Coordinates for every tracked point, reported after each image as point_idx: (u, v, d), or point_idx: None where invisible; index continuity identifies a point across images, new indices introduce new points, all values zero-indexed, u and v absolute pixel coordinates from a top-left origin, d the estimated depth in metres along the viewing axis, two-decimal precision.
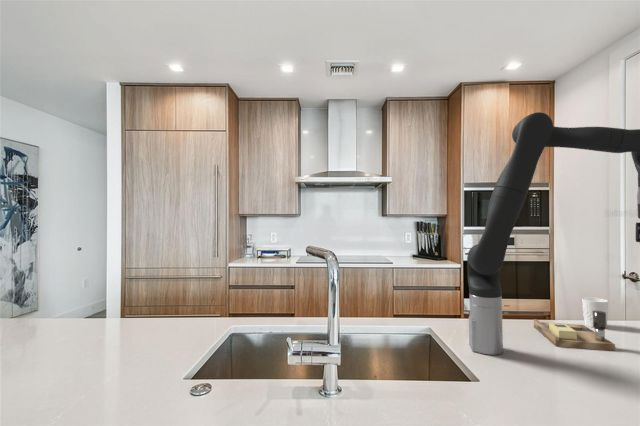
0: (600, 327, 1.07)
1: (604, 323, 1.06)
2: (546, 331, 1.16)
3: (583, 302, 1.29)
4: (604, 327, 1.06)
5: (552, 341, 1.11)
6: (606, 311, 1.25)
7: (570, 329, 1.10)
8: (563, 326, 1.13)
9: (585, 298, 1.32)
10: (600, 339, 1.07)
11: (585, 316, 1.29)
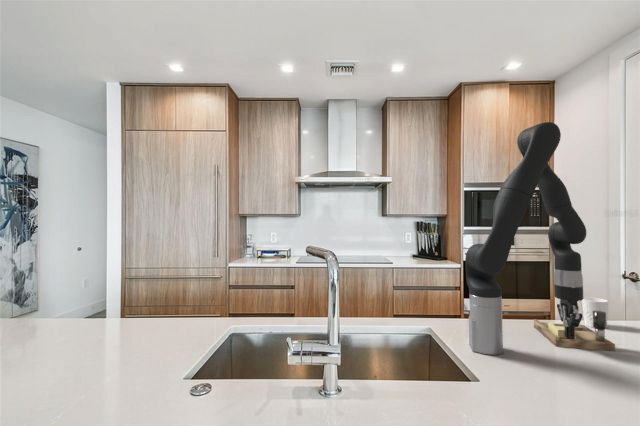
0: (600, 327, 1.07)
1: (604, 323, 1.06)
2: (546, 331, 1.16)
3: (583, 302, 1.29)
4: (604, 327, 1.06)
5: (552, 341, 1.11)
6: (606, 311, 1.25)
7: None
8: (562, 325, 1.14)
9: (585, 298, 1.32)
10: (600, 339, 1.07)
11: (585, 316, 1.29)
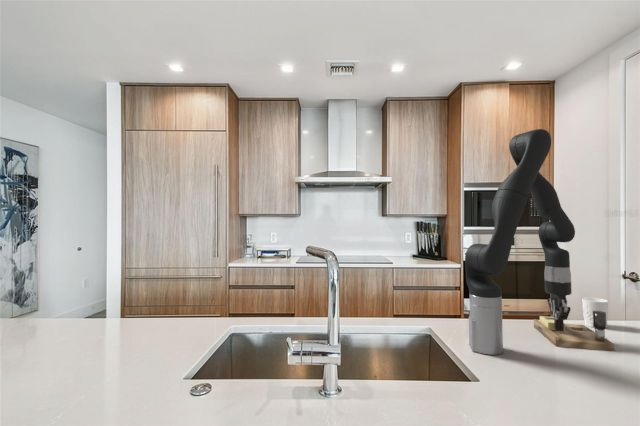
0: (600, 327, 1.07)
1: (604, 323, 1.06)
2: (546, 331, 1.16)
3: (583, 302, 1.29)
4: (604, 327, 1.06)
5: (552, 341, 1.11)
6: (606, 311, 1.25)
7: None
8: (552, 319, 1.22)
9: (585, 298, 1.32)
10: (600, 339, 1.07)
11: (585, 316, 1.29)
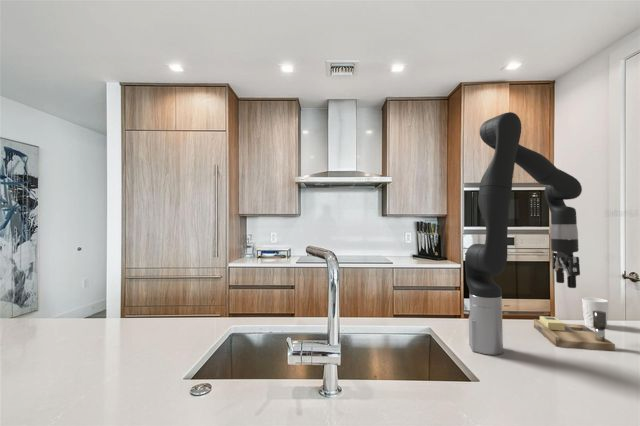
0: (600, 327, 1.06)
1: (604, 323, 1.06)
2: (546, 331, 1.16)
3: (583, 302, 1.29)
4: (604, 327, 1.06)
5: (552, 341, 1.11)
6: (606, 311, 1.25)
7: (559, 321, 1.19)
8: (552, 319, 1.22)
9: (585, 298, 1.32)
10: (600, 339, 1.07)
11: (585, 316, 1.29)
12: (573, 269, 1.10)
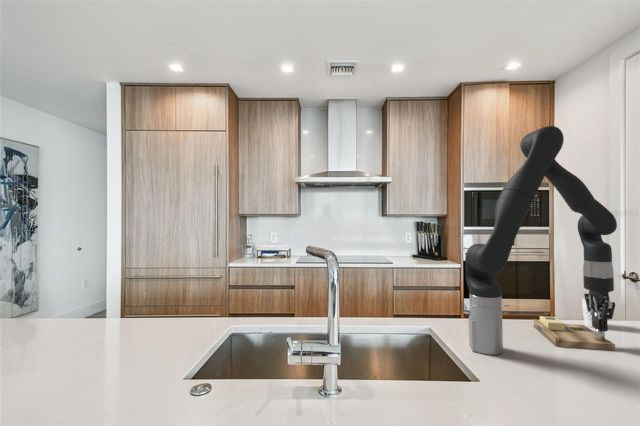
0: None
1: None
2: (546, 331, 1.16)
3: (583, 302, 1.29)
4: None
5: (552, 341, 1.11)
6: None
7: (559, 321, 1.19)
8: (552, 319, 1.22)
9: None
10: (600, 339, 1.07)
11: (585, 316, 1.29)
12: None
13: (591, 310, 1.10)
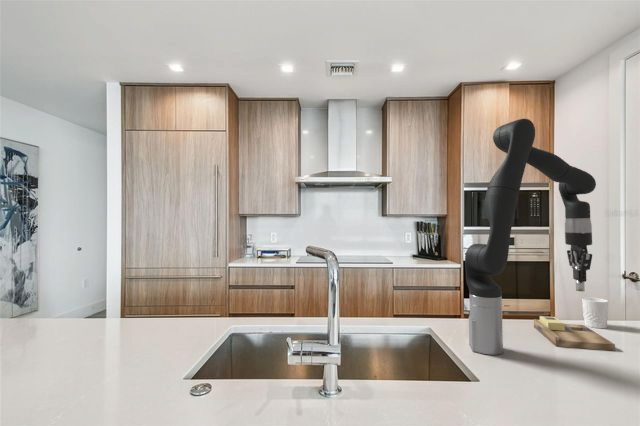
0: None
1: None
2: (546, 331, 1.16)
3: (583, 302, 1.29)
4: None
5: (552, 341, 1.11)
6: (606, 311, 1.25)
7: (559, 321, 1.19)
8: (552, 319, 1.22)
9: (585, 298, 1.32)
10: (580, 289, 1.17)
11: (585, 316, 1.29)
12: (584, 264, 1.16)
13: (572, 264, 1.21)
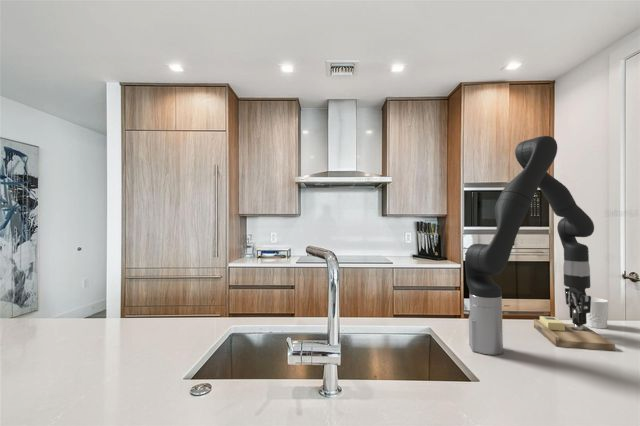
0: (578, 323, 1.17)
1: None
2: (546, 331, 1.16)
3: None
4: None
5: (552, 341, 1.11)
6: (606, 311, 1.25)
7: (559, 321, 1.19)
8: (552, 319, 1.22)
9: None
10: None
11: None
12: (584, 306, 1.15)
13: (569, 303, 1.23)
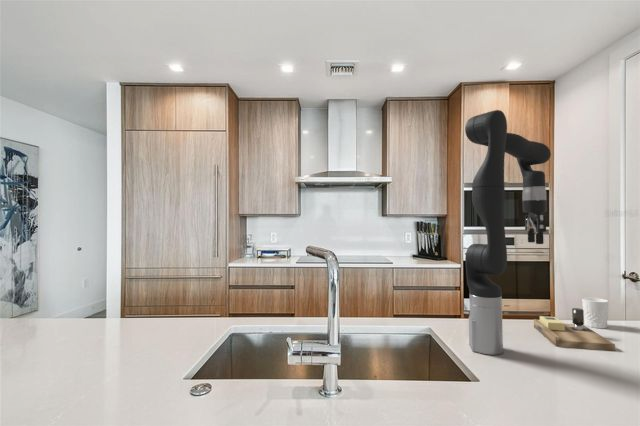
0: (578, 323, 1.17)
1: (582, 319, 1.17)
2: (546, 331, 1.16)
3: (583, 302, 1.29)
4: (582, 323, 1.17)
5: (552, 341, 1.11)
6: (606, 311, 1.25)
7: (559, 321, 1.19)
8: (552, 319, 1.22)
9: (585, 298, 1.32)
10: None
11: (585, 316, 1.29)
12: (541, 227, 1.21)
13: (527, 228, 1.29)
